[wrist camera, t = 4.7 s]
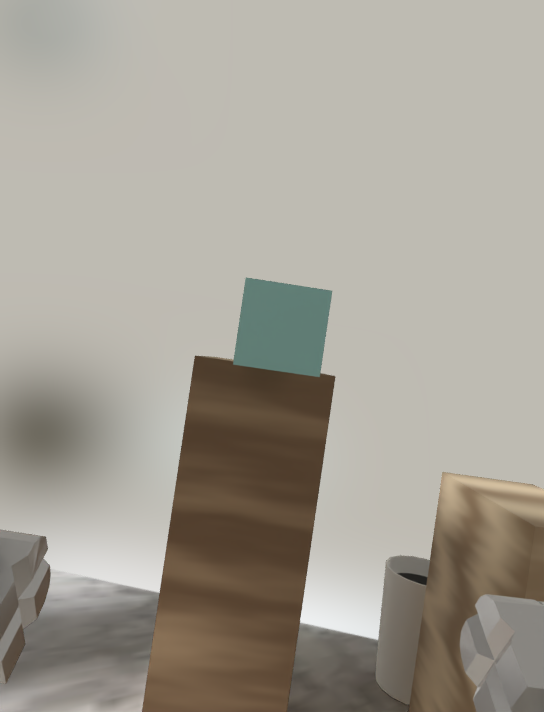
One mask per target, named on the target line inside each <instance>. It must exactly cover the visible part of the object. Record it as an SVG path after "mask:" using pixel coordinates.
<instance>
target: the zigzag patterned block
mask: <svg viewBox="0 0 544 712" xmlns="http://www.w3.org/2000/svg"><path fill="white" fill-rule="evenodd" d="M485 594H489V595H498V596H507V597H515V598H524V599H532V600H536V601H541V602H544V489H542V488H539V487H537V486H535V485H532V484H525V483H517V482H510V481H503V480H496V479H489V478H482V477H474V476H467V475H460V474H452V473H446V472H443V473H442V480H441V487H440V493H439V501H438V507H437V515H436V522H435V528H434V536H433V542H432V549H431V557H430V564H429V571H428V578H427V585H426V592H425V599H424V606H423V613H422V620H421V627H420V634H419V641H418V648H417V655H416V662H415V669H414V676H413V683H412V690H411V697H410V705H409V712H476V708H475V705H474V701H473V698H474V695H475V692H476V689H477V686H476V685H475V684H474V682H473V681H472V680H471V679H470V678H469V677H468V675H467V674H466V673H465V670H464V666H463V663H462V659H461V652H460V637H461V630H462V628H463V626H464V624H465V622H466V620H467V619H468V618H470V617H472V616H474V615H476V614H478V613H477V610H476V607H475V604H476V603H477V601H478V599H479V598H480V597H481V596H483V595H485Z"/></svg>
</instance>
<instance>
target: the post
mask: <svg viewBox="0 0 544 712" xmlns="http://www.w3.org/2000/svg"><path fill="white" fill-rule="evenodd" d="M233 361H234V360H232V359H224V358H218V357H206V356H195V359H194V366H193V372H192V379H191V386H190V393H189V399H188V406H187V413H186V420H185V426H184V433H183V440H182V446H181V453H180V460H179V467H178V474H177V481H176V487H175V494H174V500H173V507H172V514H171V521H170V527H169V534H168V541H167V547H166V554H165V561H164V568H163V575H162V582H161V588H160V594H159V601H158V608H157V615H156V621H155V628H154V635H153V642H152V648H151V655H150V662H149V668H148V675H147V682H146V689H145V695H144V702H143V709H142V712H287V706H288V700H289V693H290V686H291V679H292V672H293V665H294V658H295V651H296V644H297V637H298V631H299V624H300V617H301V610H302V603H303V596H304V589H305V582H306V575H307V568H308V562H309V555H310V548H311V541H312V533H313V527H314V520H315V513H316V506H317V499H318V493H319V486H320V479H321V472H322V465H323V457H324V451H325V444H326V437H327V430H328V423H329V417H330V410H331V403H332V396H333V389H334V382H335V376H331V375H326V374H321V373H320V377H315V376H308V375H302V374H295V373H288V372H281V371H274V370H267V369H261V368H254V367H247V366H240V365H233Z"/></svg>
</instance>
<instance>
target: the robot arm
mask: <svg viewBox="0 0 544 712" xmlns="http://www.w3.org/2000/svg"><path fill="white" fill-rule="evenodd" d="M47 549H48V546H47V541H46V537H45V536H38V535H32V534H25V533H19V532H12V531H6V530H0V683H2V684H6V683H7V681H8V679H9V677H10V675H11V673H12V671H13V668H14V666H15V664H16V662H17V660H18V658H19V656H20V654H21V652H22V650H23V647H24V645H25V640H24V633H23V629H24V628H26V627H27V626H28V625H30V624H31V623H32V622H34V621H35V620H36V619H37V618H38V616H39V613H40V611H41V609H42V607H43V604H44V602H45V598H46V595H47V592H48V588H49V583H50V565H49V564H48V563H47V562H46V561H45V560H44V559H43V558H44V556H45V554H46V552H47ZM475 607H476V610H477V613H478V614H476V615H474V616H472V617H470V618H468V619H467V620H466V622H465V624H464V626H463V628H462V630H461V637H460V652H461V659H462V663H463V666H464V670H465V673H466V674H467V675H468V677H469V678H470V679H471V680H472V681H473V682H474V684H475V685H476V686H477V689H476V692H475V695H474V698H473V701H474V705H475V708H476V712H544V602H541V601H536V600H532V599H524V598H515V597H507V596H498V595H489V594H485V595H483V596H481V597H480V598H479V599H478V601H477V603H476V604H475Z"/></svg>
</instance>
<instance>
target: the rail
mask: <svg viewBox="0 0 544 712" xmlns="http://www.w3.org/2000/svg"><path fill="white" fill-rule="evenodd" d="M331 295H332V291H330V290H323V289H317V288H310V287H303V286H297V285H291V284H284V283H278V282H271V281H265V280H258V279H252V278H246V280H245V287H244V294H243V300H242V307H241V314H240V322H239V327H238V334H237V341H236V348H235V355H234V361H233V365H240V366H247V367H254V368H261V369H267V370H274V371H281V372H288V373H295V374H302V375H308V376H315V377H320V371H321V365H322V358H323V351H324V344H325V337H326V330H327V323H328V316H329V309H330V302H331Z"/></svg>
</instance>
